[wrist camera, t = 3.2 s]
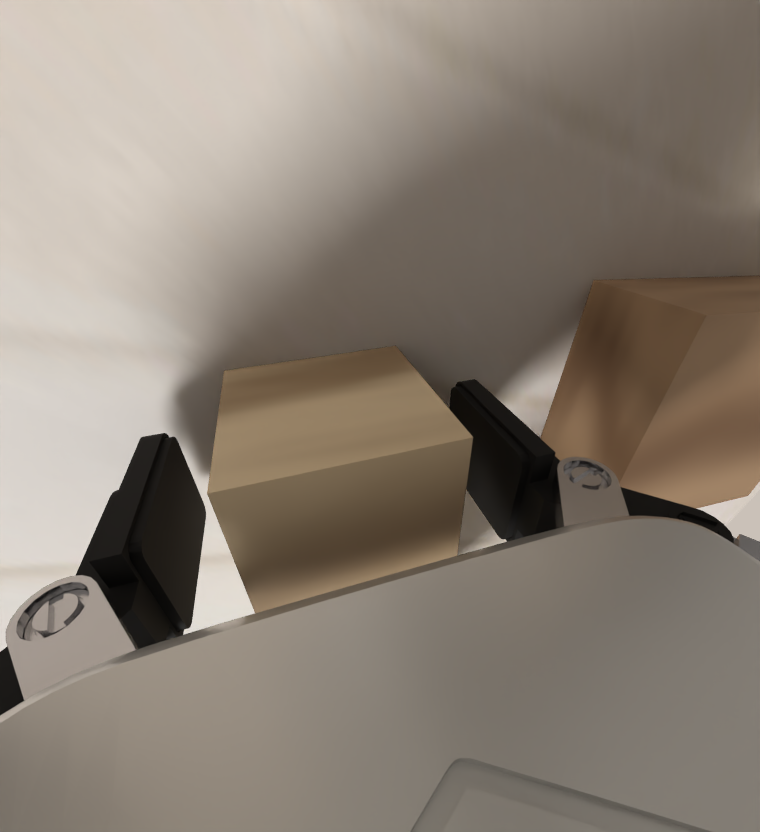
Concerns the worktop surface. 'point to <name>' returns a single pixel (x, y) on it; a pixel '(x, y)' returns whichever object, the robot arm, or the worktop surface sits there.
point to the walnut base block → (666, 387)
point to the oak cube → (335, 473)
